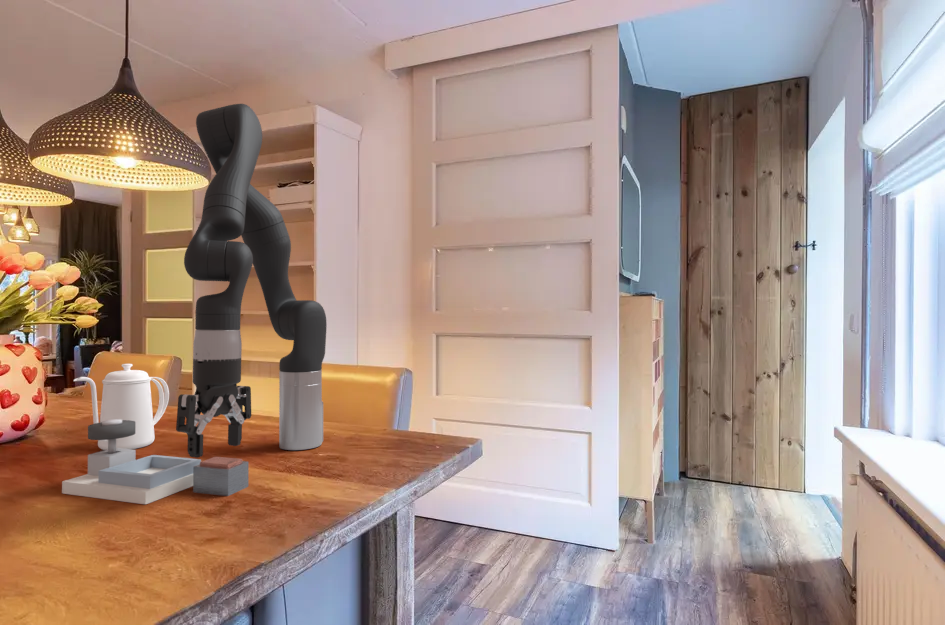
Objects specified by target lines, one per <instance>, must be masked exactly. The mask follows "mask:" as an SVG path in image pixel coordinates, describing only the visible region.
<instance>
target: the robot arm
mask: <svg viewBox="0 0 945 625" xmlns="http://www.w3.org/2000/svg"><path fill="white" fill-rule="evenodd" d="M195 118H196V119H195V124H196V126H195V127H196V132H197V135H198V137H199V141H200V142H201V145H202V147H203V150H204V152H205V154H206V157H207V158H208V160H209V162H210V164H211V166H212V168H213V170H214V172H215V175H214V177H213V178H212V179H211V181H210V183H209V185H208V186H207V188H206V191H205V193H204V194H205V195H204V199H203V206H202V213H201V218H200V219H201V220H200V223H199V224H198V227H197V229H196V231H195V233H194V234H193V236H192V238H191V239H190V241H189V243H188V245H187V247H186V250H185V253H184V257H183V265H184V268H185V271H186V273H187V275H188V276H189V277H190V278H192V279H193V280H196V281H201V282H229V284H228V286H227V287H226V288H225V289H224V291H222V292H218V293H213V294H205V295H202V296H200V297H198V299H197V300H196V303H195V322H194V323H195V324H194V325H195V330H194V339H193V347H192V384H193V385H194V386H195V388H196V389H195V393H194V394H179V396H178V399H177V412H176V424H175V425H176V426H175V428H176V429H175V430H176V432H179V433H184V434H186V435H187V454H188V456H189V458H195V459H199V458H200V457H203V456H204V434H203V432H204V430H205V428H206V426H207V425H208V423H210V422H211V421H212V420H213V418H216V417H219V416H220V415H221V416H224V417H225V419H227V420H226V421H228V423H229V424H228V425H227V427H228V429H227V444H228V445H229V446H233V447H236V446H237V447H238V446H240V445H241V443H242V442H241V441H242V438H243V437H242V436H243V434H242V433H243V424H244V423H245V421H246V420H247V419H249V420H250V419H251V418H252V391H251V389H252V388H251V386H248V385H237V384H239V383H241V381H242V346H243V345H242V337H241V336H242V334H241V314H242V313H241V312H242V302H243V297H244V293H245V289H246V287H247V283H248V279H249V276H250V274H251V271H252V268H254V270H255V274H256V277H257V279H258V281H259V285H260V287H261V290H262V294H263V298H264V302H265V305H266V309H267V312H268V317H269V320H270V323H271V325H272V328H273V330H274V332H275V334H277V336H278V337H280V338H281V339H283V340H287V341H293V345H292V349H291V351H290V352H289V353H288V354H287V355H285V356H283V357H281V358H280V360H279V365H278V366H279V367H278V369H279V370H278V371H279V373H278V374H279V375H278V376H279V378H278V380H279V382H278V383H279V386H278V387H279V388H278V390H279V393H278V394H279V396H278V397H279V398H278V399H279V403H278V404H279V405H278V406H279V407H278V408H279V410H278V411H279V413H278V414H279V418H278V419H279V420H278V422H279V423H278V424H279V425H278V426H279V427H278V429H279V430H278V431H279V432H278V434H279V435H278V436H279V438H278V439H279V443H278V444H279V449H281V450H286V451H287V450H288V451H303V450H309V449H310V450H311V449H315V448H317V447H320V446H321V445H322V443H323V442H324V401H323V399H322V396H323V395H322V394H323V393H322V391H323V390H322V389H323V388H322V386H323V384H322V383H323V382H322V380H323V378H322V374H323V373H322V370H323V369H322V368H323V362H324V359H325V357H326V356H325V355H326V346H327V345H326V342H327V328H328V327H327V325H328V324H327V316H326V311H325V309H324V306H322V305H321V303H319V302H318V301H315V300H309V299H307V300H306V299H305V300H304V299H303V300H302V299H300V300H297V298H296V296H295V294H294V292H293V289H292V287H291V283H290V280H289V266H290V258H291V252H292V242H291V238H290V234H289V231H288V229H287V227H286V226H287V225H286V224H285V220H284V217H283V215H282V213H281V211H280V210H279V208H278V207H277V206H276V204H274V203H273V202H272V201H271V200H270V199H268V198H267V197H266V196H265V195H264V194H262V192H260V191H259V190H258V189H257V188H255V187H254V186H253V185H252V184H251V181H252V177H253V174H254V172H255V169H256V167H257V166H256V165H257V162H258V159H259V155H260V152H261V148H262V144H263V131H262V130H263V129H262V125H261V123H260V120H259V118H258V116H257V114H256V112H255V111H254V109H253V108H252V107H250V106H249V105H248V104H245V103H235V104H229V105H224V106H221V107H217V108H213V109H208V110H204V111H201V112H199V113H198V114H197V116H196V117H195ZM240 237H241V238H242V241H243V242H242V241H233V240H236V239H238V238H240ZM243 407H244V409H243ZM243 410H244V411H243Z"/></svg>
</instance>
